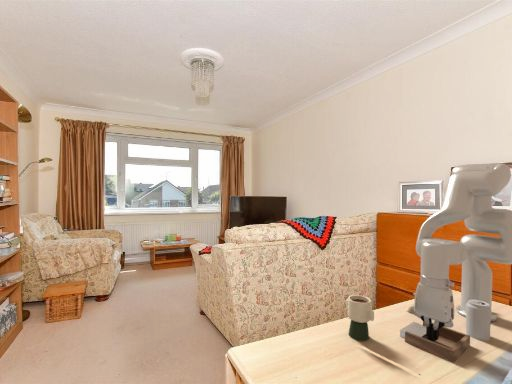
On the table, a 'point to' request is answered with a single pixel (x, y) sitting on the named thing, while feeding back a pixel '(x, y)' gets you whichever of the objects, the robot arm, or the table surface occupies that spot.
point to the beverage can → (478, 319)
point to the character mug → (359, 316)
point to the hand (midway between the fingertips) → (432, 339)
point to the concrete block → (414, 330)
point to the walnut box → (442, 343)
